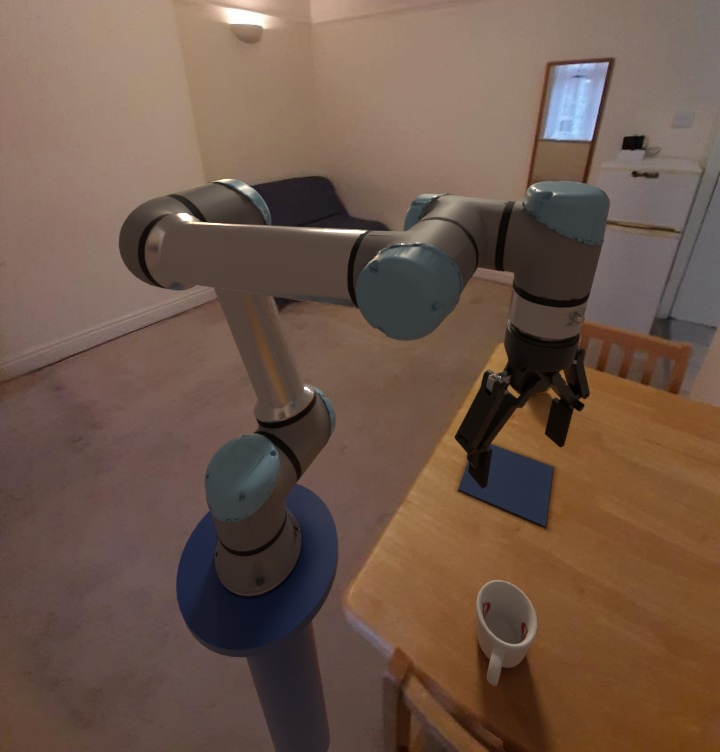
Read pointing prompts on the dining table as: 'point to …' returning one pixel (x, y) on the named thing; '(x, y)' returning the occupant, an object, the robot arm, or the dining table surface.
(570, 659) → the dining table surface
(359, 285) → the robot arm
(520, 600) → the cup
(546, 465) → the napkin
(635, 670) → the dining table surface
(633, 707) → the dining table surface
